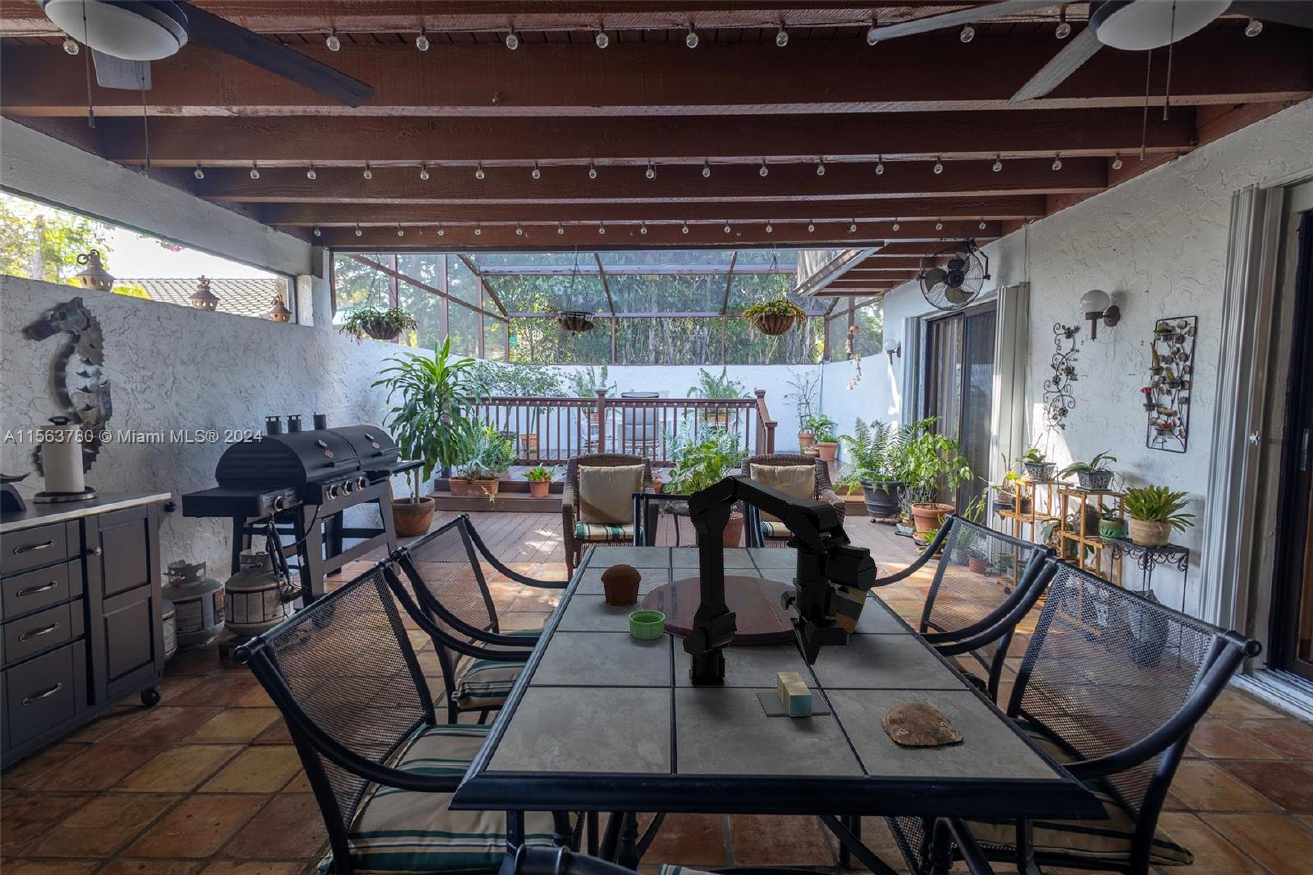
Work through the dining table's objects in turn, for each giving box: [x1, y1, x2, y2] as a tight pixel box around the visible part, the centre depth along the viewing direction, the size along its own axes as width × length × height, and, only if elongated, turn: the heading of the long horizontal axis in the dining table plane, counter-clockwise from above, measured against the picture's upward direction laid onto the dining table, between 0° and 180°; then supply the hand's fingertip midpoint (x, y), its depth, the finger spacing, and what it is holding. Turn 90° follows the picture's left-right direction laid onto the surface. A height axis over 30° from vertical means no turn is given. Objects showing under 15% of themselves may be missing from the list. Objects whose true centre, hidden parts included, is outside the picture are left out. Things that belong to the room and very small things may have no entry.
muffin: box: [600, 563, 642, 607], centre depth 172 cm, size 12×11×10 cm
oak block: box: [776, 671, 812, 717], centre depth 116 cm, size 4×4×9 cm
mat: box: [756, 690, 831, 717], centre depth 117 cm, size 12×8×1 cm, turn 94°
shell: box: [880, 702, 963, 749], centre depth 109 cm, size 12×13×4 cm
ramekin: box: [628, 609, 666, 641], centre depth 150 cm, size 9×9×4 cm
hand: (810, 664), depth 106 cm, fingers closed
